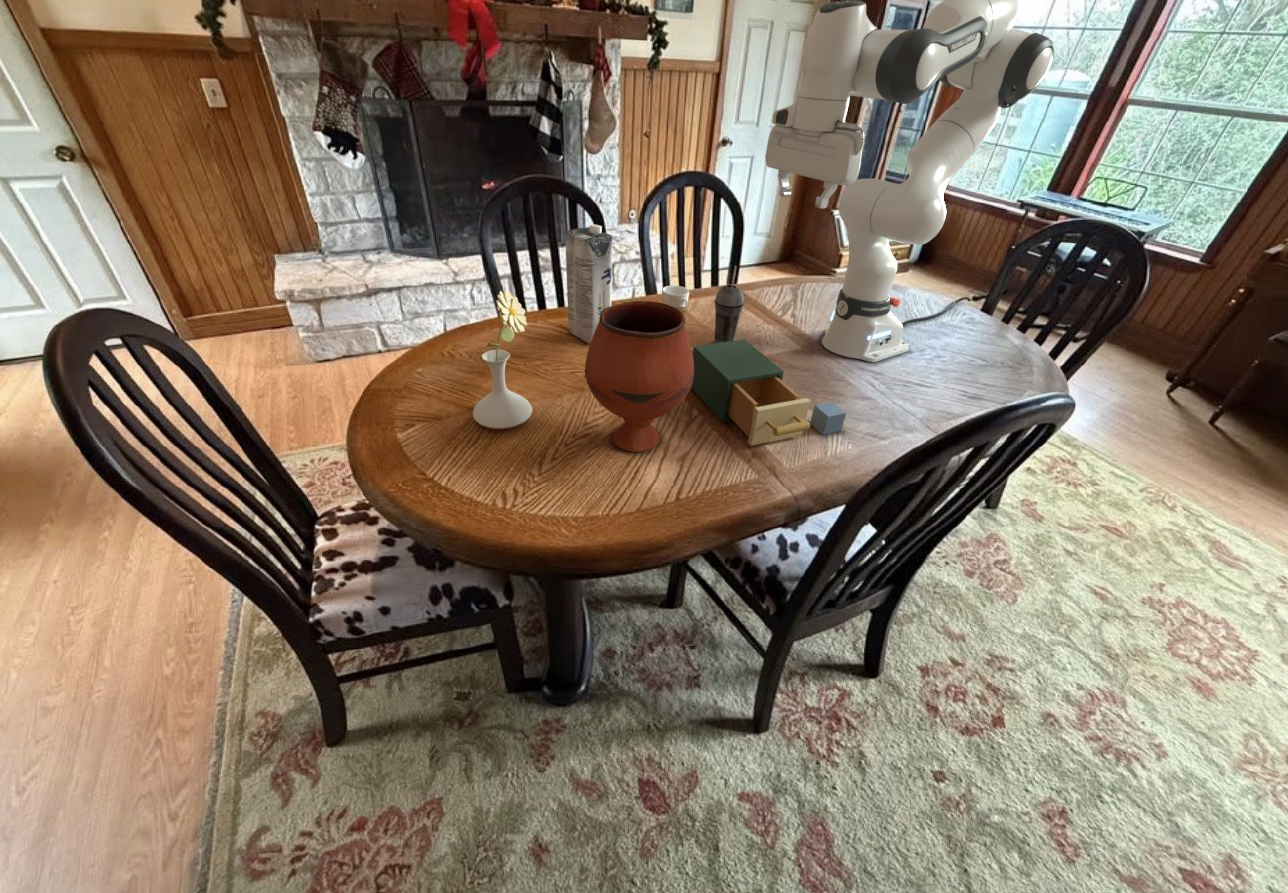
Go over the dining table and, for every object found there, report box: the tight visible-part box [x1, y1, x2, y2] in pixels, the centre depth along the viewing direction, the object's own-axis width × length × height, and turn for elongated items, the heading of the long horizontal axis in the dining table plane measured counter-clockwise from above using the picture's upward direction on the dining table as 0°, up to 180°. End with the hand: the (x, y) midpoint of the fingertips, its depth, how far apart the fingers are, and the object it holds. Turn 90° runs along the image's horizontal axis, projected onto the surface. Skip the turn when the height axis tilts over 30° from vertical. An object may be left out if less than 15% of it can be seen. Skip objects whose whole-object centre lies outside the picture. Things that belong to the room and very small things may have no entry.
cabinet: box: [691, 338, 785, 423], centre depth 116 cm, size 16×13×10 cm
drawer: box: [727, 376, 811, 447], centre depth 107 cm, size 18×11×8 cm, turn 22°
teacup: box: [661, 285, 690, 311], centre depth 157 cm, size 10×8×5 cm
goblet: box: [584, 300, 694, 453], centre depth 98 cm, size 19×19×25 cm
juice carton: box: [564, 224, 614, 345], centre depth 134 cm, size 9×10×27 cm
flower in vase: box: [472, 290, 533, 430], centre depth 102 cm, size 13×11×25 cm
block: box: [809, 401, 847, 436], centre depth 110 cm, size 4×4×4 cm
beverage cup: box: [714, 265, 745, 343], centre depth 134 cm, size 7×7×20 cm
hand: (802, 202), depth 104 cm, fingers open, 8 cm apart
